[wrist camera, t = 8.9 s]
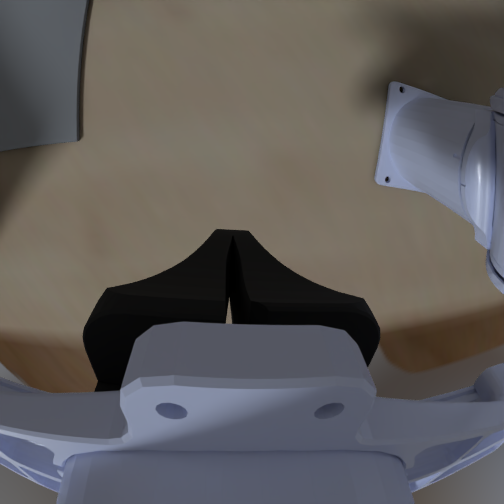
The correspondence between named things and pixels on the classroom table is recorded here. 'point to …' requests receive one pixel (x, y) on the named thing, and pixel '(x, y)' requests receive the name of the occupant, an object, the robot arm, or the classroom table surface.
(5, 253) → the classroom table surface
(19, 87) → the mat
